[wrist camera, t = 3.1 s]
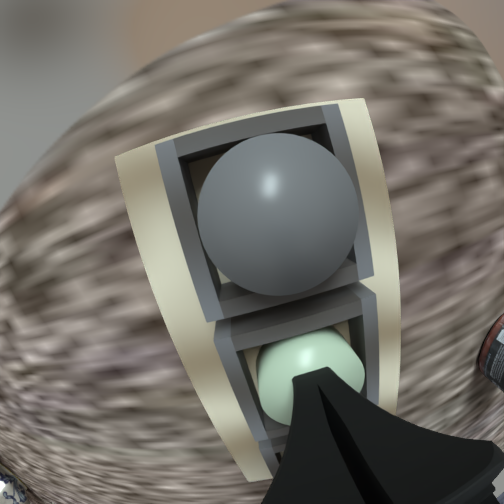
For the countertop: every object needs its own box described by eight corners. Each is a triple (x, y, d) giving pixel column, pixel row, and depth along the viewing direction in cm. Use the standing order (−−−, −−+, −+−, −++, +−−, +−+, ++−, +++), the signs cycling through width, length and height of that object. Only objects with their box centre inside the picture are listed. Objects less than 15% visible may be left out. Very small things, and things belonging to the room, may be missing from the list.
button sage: (349, 380, 11) (365, 407, 9) (267, 404, 11) (272, 435, 9) (342, 308, 10) (361, 331, 9) (244, 335, 10) (247, 365, 8)
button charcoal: (342, 255, 9) (369, 271, 7) (225, 287, 9) (223, 312, 7) (316, 135, 8) (338, 121, 6) (191, 165, 8) (179, 156, 6)
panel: (383, 426, 15) (401, 457, 12) (247, 466, 15) (250, 502, 12) (349, 107, 11) (384, 84, 7) (128, 160, 11) (92, 151, 7)
